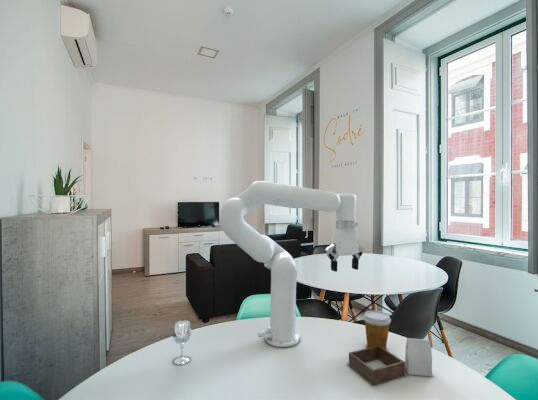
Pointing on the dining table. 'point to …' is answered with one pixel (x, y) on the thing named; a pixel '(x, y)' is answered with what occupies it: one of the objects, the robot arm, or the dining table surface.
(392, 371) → the crate
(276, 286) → the robot arm
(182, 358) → the wineglass
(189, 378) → the dining table surface
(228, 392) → the dining table surface
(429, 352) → the white food carton
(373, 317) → the disposable coffee cup
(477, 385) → the dining table surface
